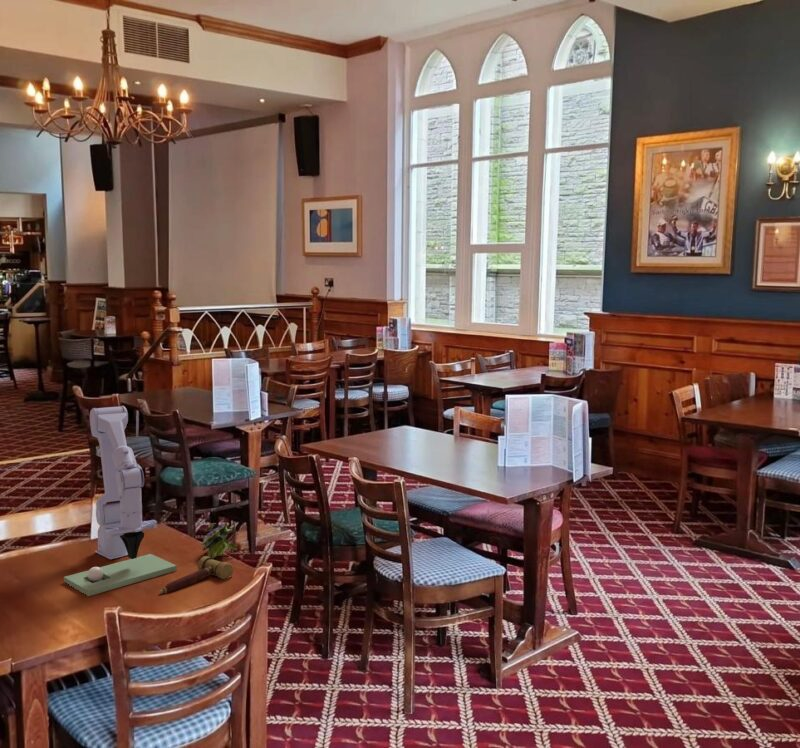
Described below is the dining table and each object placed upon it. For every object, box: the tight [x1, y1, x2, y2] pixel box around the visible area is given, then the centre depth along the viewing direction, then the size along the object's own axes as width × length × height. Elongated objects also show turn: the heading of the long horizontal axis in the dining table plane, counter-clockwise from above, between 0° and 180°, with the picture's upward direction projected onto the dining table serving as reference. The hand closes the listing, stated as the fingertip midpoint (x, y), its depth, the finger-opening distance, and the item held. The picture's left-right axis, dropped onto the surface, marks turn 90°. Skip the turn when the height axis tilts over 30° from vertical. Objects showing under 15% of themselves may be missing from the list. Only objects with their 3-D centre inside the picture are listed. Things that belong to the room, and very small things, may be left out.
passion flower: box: [201, 521, 238, 559], centre depth 246 cm, size 11×11×12 cm
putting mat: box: [63, 553, 178, 597], centre depth 228 cm, size 14×26×2 cm, turn 137°
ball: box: [87, 566, 103, 582], centre depth 223 cm, size 4×4×4 cm
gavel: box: [159, 555, 234, 595], centre depth 223 cm, size 21×5×10 cm
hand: (132, 557), depth 231 cm, fingers closed
